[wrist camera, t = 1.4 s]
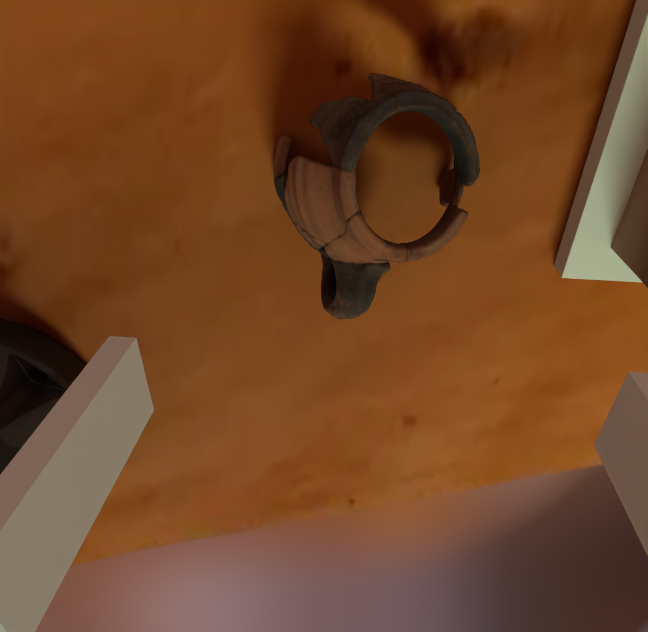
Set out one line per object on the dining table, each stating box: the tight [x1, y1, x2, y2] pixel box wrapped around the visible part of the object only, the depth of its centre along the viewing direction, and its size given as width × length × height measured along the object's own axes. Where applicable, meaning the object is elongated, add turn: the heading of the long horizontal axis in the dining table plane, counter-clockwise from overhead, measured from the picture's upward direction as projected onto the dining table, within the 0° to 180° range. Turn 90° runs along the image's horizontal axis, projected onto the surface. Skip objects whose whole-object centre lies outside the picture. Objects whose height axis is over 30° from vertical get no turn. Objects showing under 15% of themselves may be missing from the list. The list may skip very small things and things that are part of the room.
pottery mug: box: [274, 73, 480, 319], centre depth 25 cm, size 12×10×8 cm
